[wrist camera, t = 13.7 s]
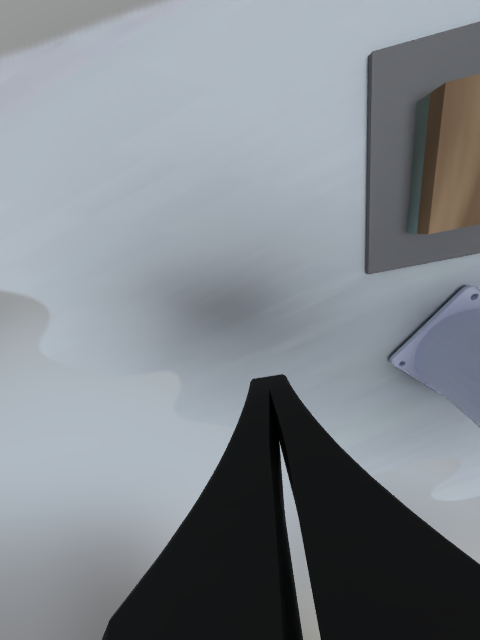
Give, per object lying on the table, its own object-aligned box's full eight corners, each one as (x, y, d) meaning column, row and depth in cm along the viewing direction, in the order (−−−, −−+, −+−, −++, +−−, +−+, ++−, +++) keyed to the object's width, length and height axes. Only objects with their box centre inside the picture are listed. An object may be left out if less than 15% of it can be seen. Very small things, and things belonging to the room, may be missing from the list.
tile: (416, 102, 13) (514, 77, 12) (406, 232, 16) (486, 216, 15) (445, 82, 11) (561, 52, 11) (428, 234, 14) (519, 215, 13)
